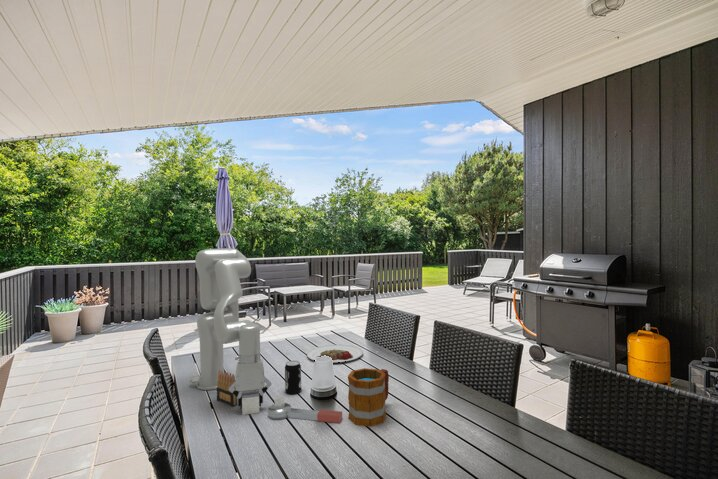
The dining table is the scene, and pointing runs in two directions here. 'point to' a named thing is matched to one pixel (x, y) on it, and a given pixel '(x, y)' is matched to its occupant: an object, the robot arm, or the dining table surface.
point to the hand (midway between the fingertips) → (250, 405)
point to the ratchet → (301, 413)
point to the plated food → (336, 352)
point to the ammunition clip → (226, 389)
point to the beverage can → (293, 377)
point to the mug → (368, 396)
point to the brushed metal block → (250, 402)
